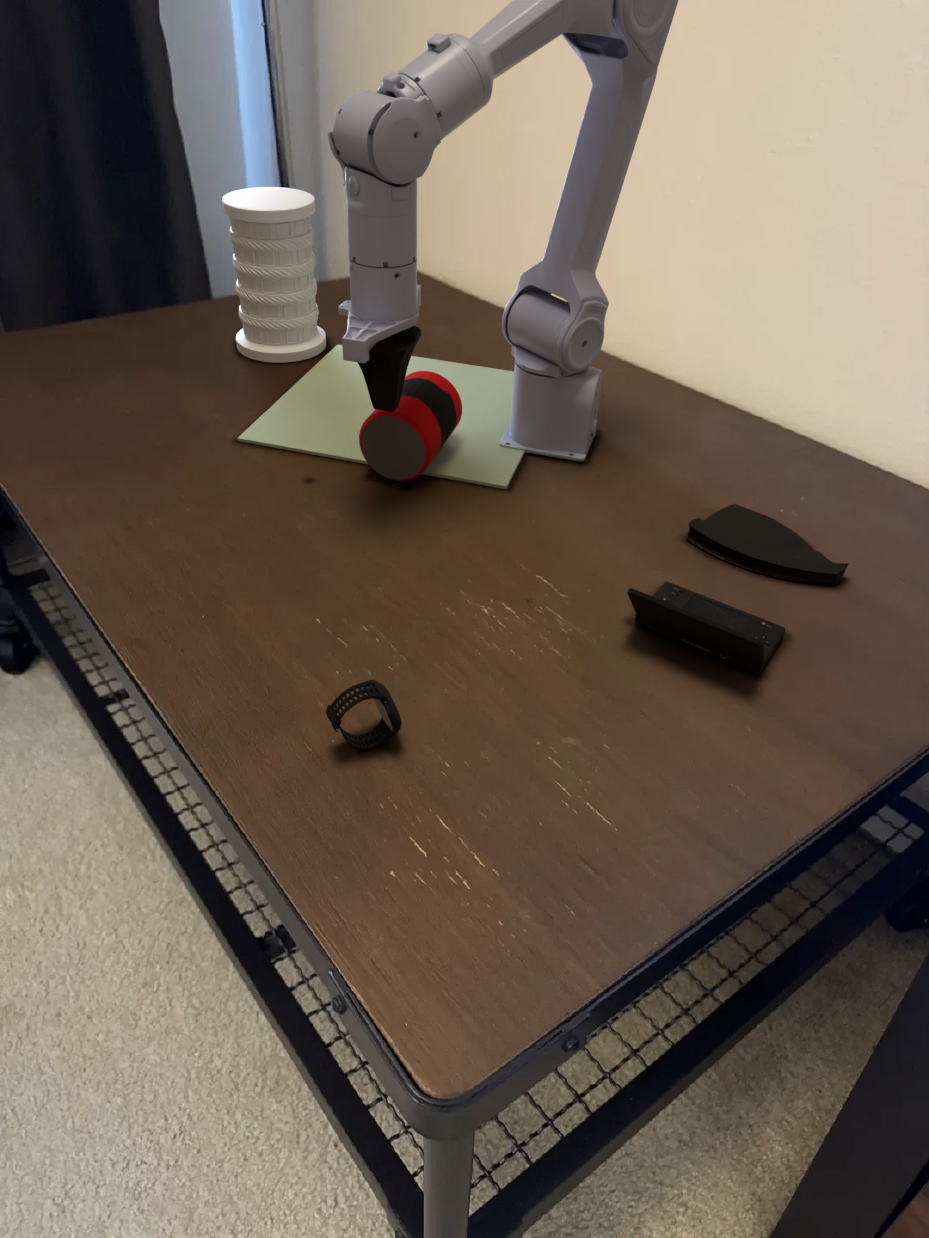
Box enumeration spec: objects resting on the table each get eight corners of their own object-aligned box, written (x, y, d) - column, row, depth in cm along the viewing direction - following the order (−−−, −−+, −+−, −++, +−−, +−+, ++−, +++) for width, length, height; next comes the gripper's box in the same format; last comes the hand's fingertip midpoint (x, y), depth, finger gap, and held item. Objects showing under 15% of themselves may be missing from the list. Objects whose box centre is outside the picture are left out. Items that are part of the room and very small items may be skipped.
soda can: (417, 408, 86) (456, 361, 95) (347, 416, 89) (392, 370, 98) (437, 479, 90) (473, 428, 99) (370, 485, 93) (411, 434, 102)
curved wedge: (806, 607, 78) (811, 592, 77) (681, 538, 86) (684, 524, 85) (856, 571, 83) (861, 557, 82) (733, 509, 90) (736, 495, 89)
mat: (561, 381, 113) (561, 378, 113) (506, 489, 92) (506, 486, 92) (337, 347, 119) (337, 344, 119) (237, 441, 98) (237, 437, 98)
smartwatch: (402, 759, 63) (402, 707, 60) (327, 761, 62) (323, 709, 59) (400, 717, 66) (400, 665, 63) (329, 719, 65) (325, 667, 62)
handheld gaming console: (791, 605, 75) (789, 562, 66) (773, 687, 74) (768, 654, 65) (655, 582, 80) (636, 539, 71) (635, 659, 78) (614, 625, 70)
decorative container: (320, 364, 114) (310, 214, 103) (228, 361, 114) (208, 209, 103) (331, 330, 123) (323, 188, 112) (246, 326, 123) (230, 184, 112)
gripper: (369, 229, 82) (373, 371, 91) (303, 278, 71) (314, 434, 80) (443, 238, 81) (440, 381, 89) (387, 289, 70) (390, 447, 78)
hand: (385, 407), depth 84 cm, fingers closed
